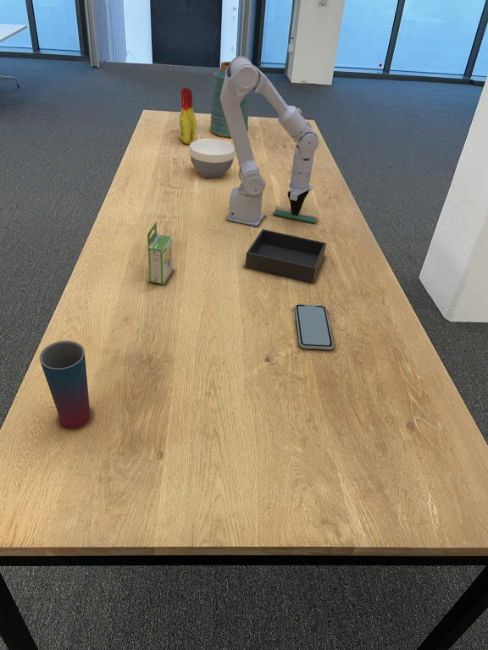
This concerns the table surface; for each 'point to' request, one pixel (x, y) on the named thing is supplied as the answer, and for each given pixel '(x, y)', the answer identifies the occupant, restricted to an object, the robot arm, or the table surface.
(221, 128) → the vase
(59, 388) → the cup
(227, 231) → the table surface
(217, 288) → the table surface
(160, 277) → the ink box
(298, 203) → the robot arm
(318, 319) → the smartphone
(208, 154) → the bowl
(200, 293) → the table surface
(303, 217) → the straws
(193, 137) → the bottle
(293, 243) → the bin
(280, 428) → the table surface
